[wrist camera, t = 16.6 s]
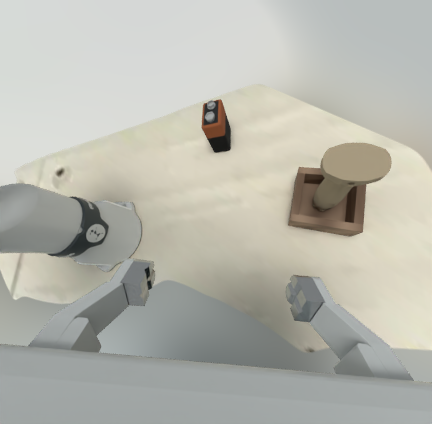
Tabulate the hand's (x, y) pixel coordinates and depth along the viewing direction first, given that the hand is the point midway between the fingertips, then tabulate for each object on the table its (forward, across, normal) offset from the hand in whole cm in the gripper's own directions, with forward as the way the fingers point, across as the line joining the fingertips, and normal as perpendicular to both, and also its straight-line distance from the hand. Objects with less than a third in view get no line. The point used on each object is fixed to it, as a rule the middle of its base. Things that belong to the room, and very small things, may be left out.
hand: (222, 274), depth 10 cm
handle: (+23, -20, +5) cm, 31 cm away
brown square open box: (+24, -20, +5) cm, 31 cm away
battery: (+41, 0, -2) cm, 41 cm away
